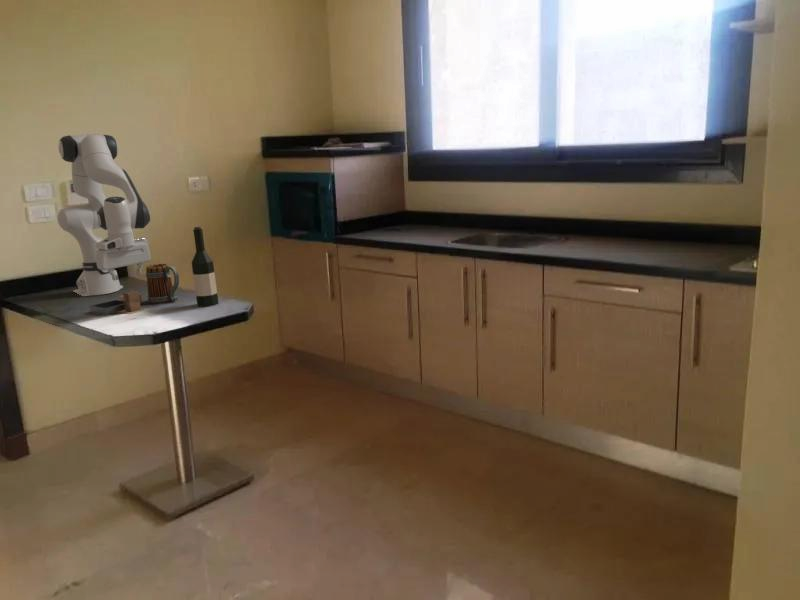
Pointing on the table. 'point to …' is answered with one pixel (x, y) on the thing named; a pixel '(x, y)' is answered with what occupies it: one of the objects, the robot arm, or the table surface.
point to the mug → (161, 283)
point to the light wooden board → (132, 312)
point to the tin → (108, 307)
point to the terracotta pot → (123, 298)
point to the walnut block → (131, 301)
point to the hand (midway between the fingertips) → (127, 277)
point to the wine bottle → (203, 273)
